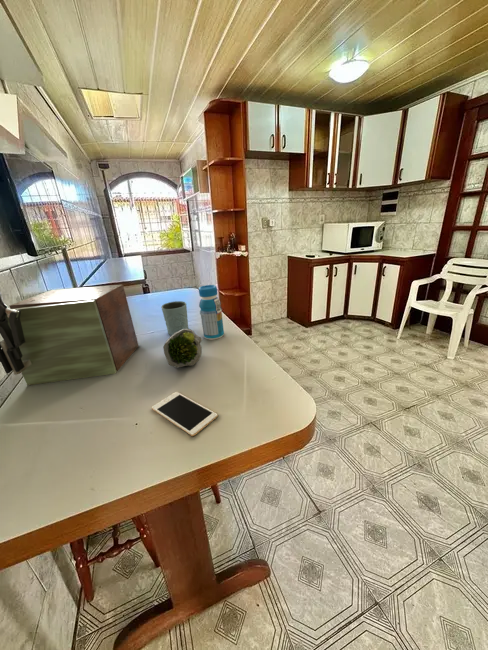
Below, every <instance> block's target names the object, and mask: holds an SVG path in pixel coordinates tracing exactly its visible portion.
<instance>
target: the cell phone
mask: <svg viewBox="0 0 488 650" xmlns="http://www.w3.org/2000/svg"><path fill="white" fill-rule="evenodd" d="M151 409H152V410H153V411H154V412H155V413H157V414H159V415H160V416H162V417H163V418H165V419H166V420H168V421H169V422H171V423H172V424H173V425H175V426H176V427H178V428H179V429H181V430H183V431H184V432H185V433H187V434H188V435H190V436H191V437H194V436H196V435H197V434H198V433H200V432H201V431H202V430H203V429H204V428H206V427H207V426H208V425H210V424H211V423H212V422H214V420H216V419H217V418H218V413H217V412H215V411H213V410H211V409H210V408H207V407H206V406H204V405H203V404H200V403H199V402H197V401H195V400H194V399H191V398H189V397H188V396H185V395H184V394H182V393H181V392H179V391H175V392H173V393H172V394H169V395H168V396H166V397H165V398H163V399H162V400H160V401H159V402H157V403H155V404H154V405H152V406H151Z"/></svg>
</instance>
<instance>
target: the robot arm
mask: <svg viewBox="0 0 488 650" xmlns="http://www.w3.org/2000/svg"><path fill="white" fill-rule="evenodd" d="M6 314H7V315H8V316H7V317H8V318H9V323H10V327H11V329H10V327H9V325H8V320H7V319H6ZM20 314H21V311H20V310H19V309H16V310H13V309H10V307H9V306H8V305H7V304H5V302H4V297H3V294H2V292H1V291H0V336H1V338H2V340H4V341H5V343H6V345H7V346H8V348H9V349H7V351H6V352H7V354H8V356H9V358H10V360H11V362H12V364H13V367H14V369H15V371H16V372H19V371H20V370H22V369H23V368H24V367H25V366H24V364H23V362H22V360H21V358H22V356H23V355H22V353H21V351H20V348H19V346H21V345H22V344H23V343H25V338H24V334H23V329H22V325H21V321H20ZM0 363H1V366H2V367H3V370H4V372H5V374H11V372H13V370H12V368H11V366H10V364H9V362H8V360H7V358H6V355H5V353H4V351H3V349H2V347H1V345H0Z"/></svg>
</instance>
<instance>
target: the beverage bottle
mask: <svg viewBox="0 0 488 650" xmlns="http://www.w3.org/2000/svg"><path fill="white" fill-rule="evenodd" d="M198 294H199V297H200V300H199V302H198V303H199V304H198V307H199V308H200V309H199V315H200V319H201V321H200V322H201V326H202V332H203V337H204V339H206V340H211V341H212V340H213V341H214V340H219V339H220V338H223V337H224V335H225V330H224V321H223V310H222V307H221V301H220V299H219V297H218V287H217V285H214V284H207V285H201V286H199V287H198Z"/></svg>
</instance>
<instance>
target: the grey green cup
mask: <svg viewBox="0 0 488 650" xmlns="http://www.w3.org/2000/svg"><path fill="white" fill-rule="evenodd" d="M161 311H162V315H163V319H164V321H165V326H166V329H167V333H168V335H170V336H172V335H173V334H174V333H176V332H178V331H180V330H183V329H189V320H188V319H189V318H188V306H187V302H186V301H183V300H175V301H170V302H166V303H164V304H162V305H161Z"/></svg>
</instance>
